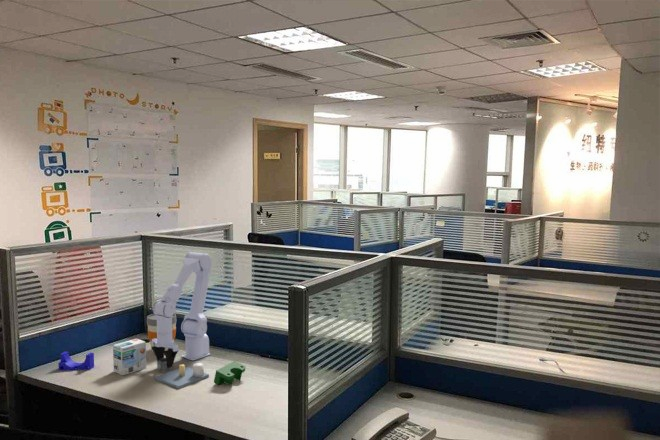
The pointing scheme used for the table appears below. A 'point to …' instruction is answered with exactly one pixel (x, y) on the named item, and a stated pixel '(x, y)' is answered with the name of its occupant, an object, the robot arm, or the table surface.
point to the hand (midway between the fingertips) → (165, 365)
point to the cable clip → (71, 365)
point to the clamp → (229, 373)
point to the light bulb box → (129, 356)
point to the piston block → (183, 376)
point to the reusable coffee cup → (153, 328)
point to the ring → (163, 365)
